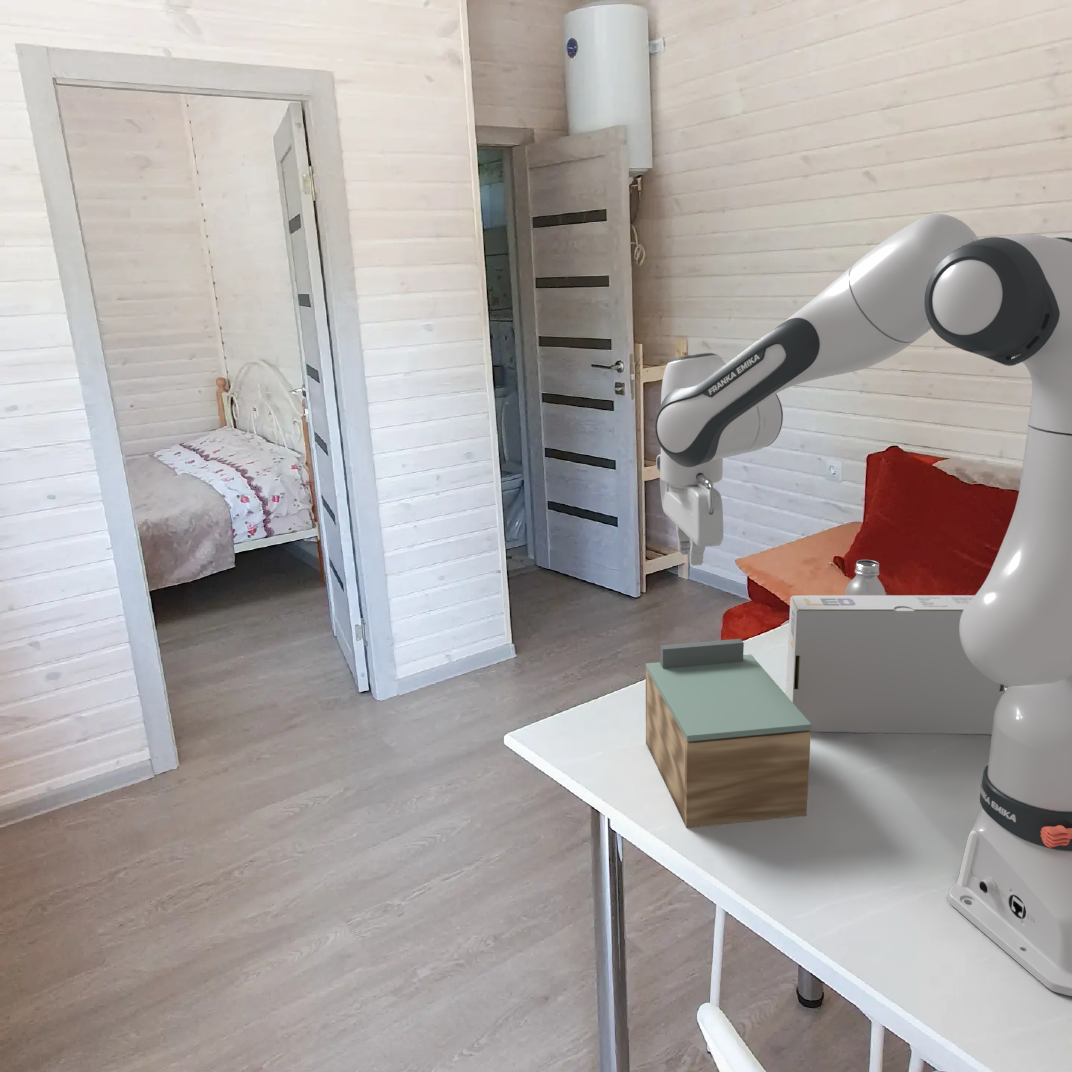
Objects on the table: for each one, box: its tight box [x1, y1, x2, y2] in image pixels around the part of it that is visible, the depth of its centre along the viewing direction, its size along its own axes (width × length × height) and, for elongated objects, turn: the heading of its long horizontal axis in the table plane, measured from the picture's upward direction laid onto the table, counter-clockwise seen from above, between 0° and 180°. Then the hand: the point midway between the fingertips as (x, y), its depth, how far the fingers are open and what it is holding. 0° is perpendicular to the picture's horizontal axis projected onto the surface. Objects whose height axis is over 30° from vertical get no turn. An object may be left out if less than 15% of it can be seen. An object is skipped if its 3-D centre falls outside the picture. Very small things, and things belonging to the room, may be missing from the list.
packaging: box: [785, 594, 1006, 735], centre depth 139 cm, size 30×6×20 cm, turn 84°
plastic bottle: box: [844, 559, 887, 595], centre depth 156 cm, size 6×7×20 cm
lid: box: [645, 638, 811, 742], centre depth 125 cm, size 22×16×4 cm
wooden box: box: [645, 669, 812, 829], centre depth 127 cm, size 22×16×12 cm
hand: (690, 558), depth 136 cm, fingers open, 4 cm apart
